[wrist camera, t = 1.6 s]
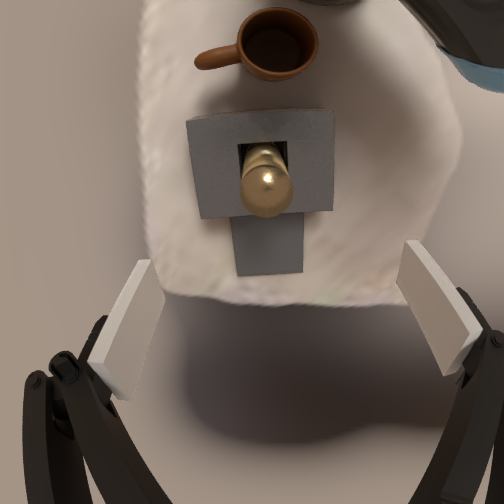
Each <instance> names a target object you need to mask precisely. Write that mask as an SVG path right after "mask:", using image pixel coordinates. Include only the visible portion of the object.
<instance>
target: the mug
mask: <svg viewBox="0 0 504 504" xmlns="http://www.w3.org/2000/svg"><path fill="white" fill-rule="evenodd" d="M318 45H319V43H318V36H317V33H316V30H315V29H314V27H313V25H312V24H311V23H310V22H309V20H308V19H306V18H305V17H304V16H303V15H301V14H300V13H298V12H296V11H293V10H291V9H287V8H281V7H271V8H265V9H261V10H259V11H257V12H255V13H253V14H251V15H250V16H249V17H248V18H247V19H246V20H245V21H244V22H243V23H242V25H241V27H240V29H239V32H238V36H237V43H236V44H234V45H229V46H224V47H219V48H215V49H211V50H208V51H206V52H203V53H201V54H199V55H198V56H197V57H196V58H195V61H194V64H195V66H196V67H197V68H198V69H200V70H210V69H216V68H220V67H224V66H228V65H232V64H237V63H243V64H244V66H245V67H246V69H247V70H248V71H249V72H250V73H251V74H253V75H254V76H256V77H258V78H260V79H263V80H267V81H281V80H285V79H288V78H291V77H293V76H296V75H298V74H300V73H301V72H303V71H304V70H305V69H306V68H308V66H309V65H310V64H311V63H312V62H313V60H314V59H315V57H316V55H317V52H318Z"/></svg>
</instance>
